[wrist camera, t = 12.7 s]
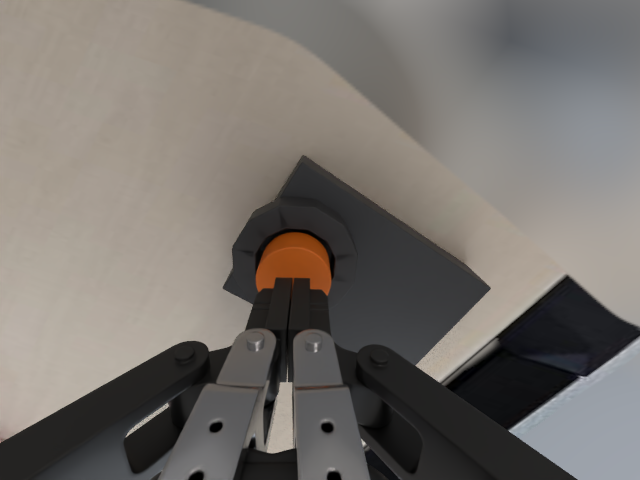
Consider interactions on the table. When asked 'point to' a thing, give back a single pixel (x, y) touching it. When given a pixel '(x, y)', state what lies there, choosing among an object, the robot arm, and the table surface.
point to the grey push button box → (362, 265)
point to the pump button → (294, 261)
